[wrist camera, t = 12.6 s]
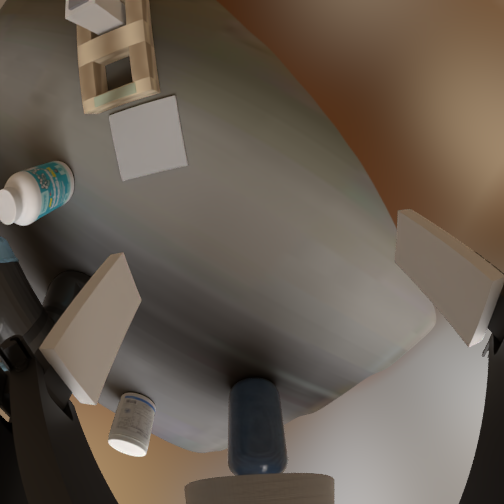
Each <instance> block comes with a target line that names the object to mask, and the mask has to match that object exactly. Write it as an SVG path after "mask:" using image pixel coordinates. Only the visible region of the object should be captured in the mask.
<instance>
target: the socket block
mask: <svg viewBox="0 0 504 504" xmlns="http://www.w3.org/2000/svg"><path fill="white" fill-rule="evenodd" d="M120 1H121V2H122V3H123V4H124V5H125V10H126V25H125V26H122V27H120V28H117V29H115V30H112V31H110V32H108V33H105V34H103V35H101V36H99V35H97V34H96V33H94V32H92V31H90V30H88V29H86V28H84V27H82V26H80V25H78V24H77V50H78V65H79V77H80V86H81V95H82V102H83V109H84V114H99V113H102V112H104V111H107V110H109V109H112V108H115V107H118V106H120V105H123V104H126V103H129V102H132V101H135V100H138V99H141V98H145V97H148V96H151V95H155V94H158V93H161V92H160V86H159V79H158V73H157V66H156V58H155V51H154V43H153V34H152V25H151V16H150V5H149V0H120ZM129 56H130V65H131V72H132V80H133V82H131V83H129V84H126V85H123V86H120V87H117V88H115V89H112V90H110V91H108V85H107V77H106V68H105V66H106V65H108V64H110V63H113V62H115V61H118V60H121V59H123V58H126V57H129Z"/></svg>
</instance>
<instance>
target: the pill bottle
mask: <svg viewBox="0 0 504 504" xmlns="http://www.w3.org/2000/svg"><path fill="white" fill-rule="evenodd" d="M73 191H74V177H73V174H72V172H71V170H70V168H69V167H68V166H67V165H66V164H65V163H63V162H61V161H52V162H49V163H45V164H42V165H38V166H35V167H32V168H29V169H26V170H23V171H20V172H17V173H15V174H13V175H12V176H11V177H10V178H9V179H8V180H7V182H6V184H5V187H4V188H3V189H1V190H0V220H1V222H3V223H4V224H6V225H10V224H12V223H16V224H18V225H21V226H26V225H29V224H31V223H33V222H34V221H36V220H38V219H39V218H41V217H43V216H44V215H46V214H48V213H50V212H51V211H53V210H55V209H57V208H58V207H60V206H62V205H64V204H65V203H67V202H68V201H69V199H70V198H71V196H72V194H73Z"/></svg>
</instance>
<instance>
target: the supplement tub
mask: <svg viewBox="0 0 504 504" xmlns="http://www.w3.org/2000/svg"><path fill="white" fill-rule="evenodd" d="M155 410H156V407H155V405H154V403H153V402H152V401H151V400H150V399H149V398H147V397H145V396H143V395H141V394H137V393H125V394H123V395H122V396H121V398H120V401H119V404H118V407H117V410H116V414H115V417H114V420H113V424H112V426H111V430H110V433H109V439H108V443H109V445H110V446H111V447H113V448H114V449H116V450H117V451H120V452H122V453H124V454H127V455H131V456H137V457H141V456H145V455H146V453H147V450H148V445H149V440H150V434H151V429H152V424H153V419H154V415H155Z"/></svg>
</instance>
